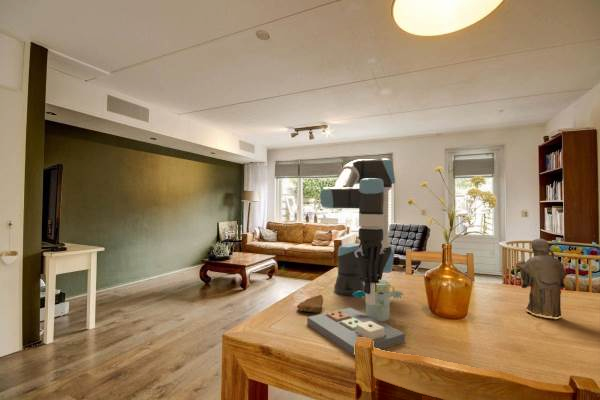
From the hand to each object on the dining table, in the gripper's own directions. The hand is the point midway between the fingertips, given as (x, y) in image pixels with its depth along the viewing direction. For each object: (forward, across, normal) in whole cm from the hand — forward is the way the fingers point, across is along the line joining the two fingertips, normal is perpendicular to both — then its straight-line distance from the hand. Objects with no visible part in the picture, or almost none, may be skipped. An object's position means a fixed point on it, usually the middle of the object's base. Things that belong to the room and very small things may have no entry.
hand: (370, 303), depth 90 cm
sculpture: (+12, -77, +16) cm, 80 cm away
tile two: (+12, 0, -8) cm, 14 cm away
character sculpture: (+12, -17, -13) cm, 25 cm away
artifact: (+12, +1, -33) cm, 35 cm away
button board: (+12, 0, -8) cm, 14 cm away
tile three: (+12, 0, -16) cm, 20 cm away
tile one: (+10, 0, 0) cm, 10 cm away
